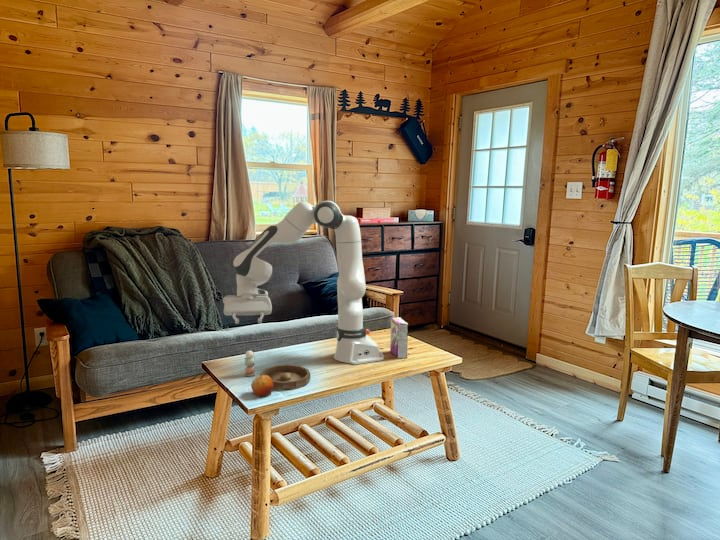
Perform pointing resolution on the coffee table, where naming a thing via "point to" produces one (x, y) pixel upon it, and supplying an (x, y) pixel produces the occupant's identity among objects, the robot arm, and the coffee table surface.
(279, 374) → the walnut tray
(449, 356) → the coffee table surface
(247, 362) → the bead column
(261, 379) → the fruit
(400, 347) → the candy bar box
